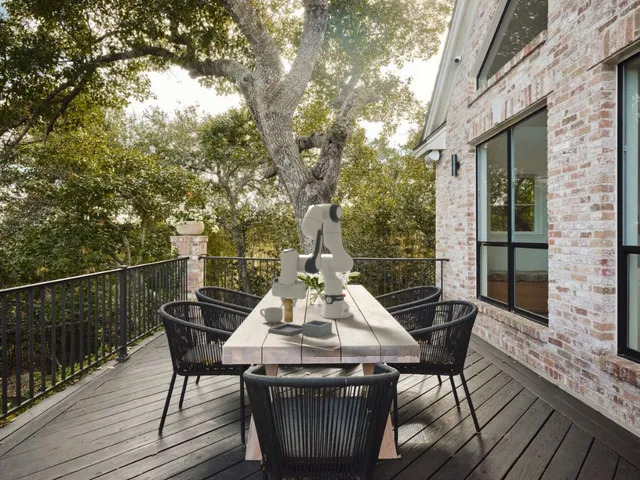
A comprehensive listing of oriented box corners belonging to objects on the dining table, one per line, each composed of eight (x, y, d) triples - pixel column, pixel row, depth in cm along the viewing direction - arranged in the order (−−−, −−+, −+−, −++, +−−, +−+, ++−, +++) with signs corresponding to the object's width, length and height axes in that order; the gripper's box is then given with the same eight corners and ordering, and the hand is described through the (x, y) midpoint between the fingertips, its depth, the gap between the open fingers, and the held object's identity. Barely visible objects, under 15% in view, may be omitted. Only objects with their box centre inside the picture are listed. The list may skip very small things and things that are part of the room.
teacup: (286, 321, 236) (286, 308, 236) (275, 325, 227) (275, 311, 227) (267, 319, 243) (267, 306, 243) (255, 322, 234) (256, 308, 234)
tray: (287, 327, 222) (287, 323, 222) (308, 331, 214) (308, 326, 214) (268, 333, 208) (268, 328, 208) (290, 337, 201) (290, 332, 201)
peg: (287, 320, 214) (287, 297, 214) (294, 321, 211) (294, 298, 211) (282, 321, 210) (282, 298, 210) (289, 323, 208) (289, 299, 208)
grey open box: (313, 331, 214) (313, 319, 214) (331, 334, 208) (331, 322, 208) (302, 335, 205) (302, 323, 205) (320, 338, 199) (320, 326, 199)
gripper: (309, 280, 208) (308, 307, 208) (277, 277, 219) (277, 303, 219) (301, 281, 202) (301, 309, 203) (270, 278, 213) (269, 305, 213)
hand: (288, 306), depth 211 cm, fingers closed on peg, 4 cm apart
